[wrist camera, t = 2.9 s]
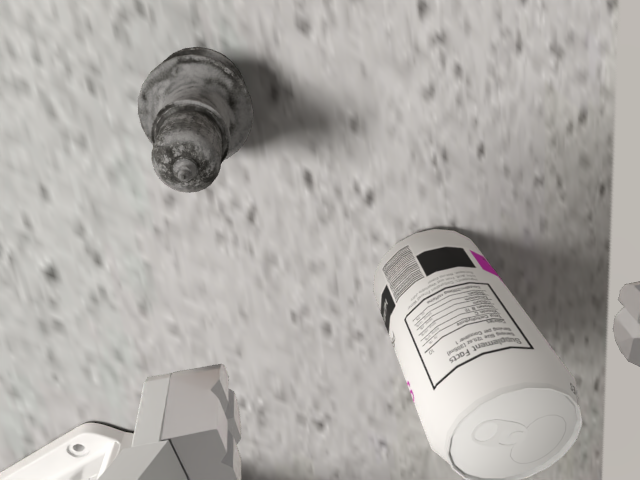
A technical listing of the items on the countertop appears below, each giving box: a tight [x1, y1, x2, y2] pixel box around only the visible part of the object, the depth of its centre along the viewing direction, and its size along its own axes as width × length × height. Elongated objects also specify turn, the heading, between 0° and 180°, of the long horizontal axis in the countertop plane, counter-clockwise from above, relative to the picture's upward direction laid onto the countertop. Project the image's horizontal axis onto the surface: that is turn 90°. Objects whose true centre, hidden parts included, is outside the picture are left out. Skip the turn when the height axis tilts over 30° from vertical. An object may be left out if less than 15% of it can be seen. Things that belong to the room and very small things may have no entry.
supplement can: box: [373, 229, 582, 480], centre depth 34 cm, size 8×8×15 cm
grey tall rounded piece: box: [138, 47, 253, 193], centre depth 26 cm, size 6×6×12 cm
